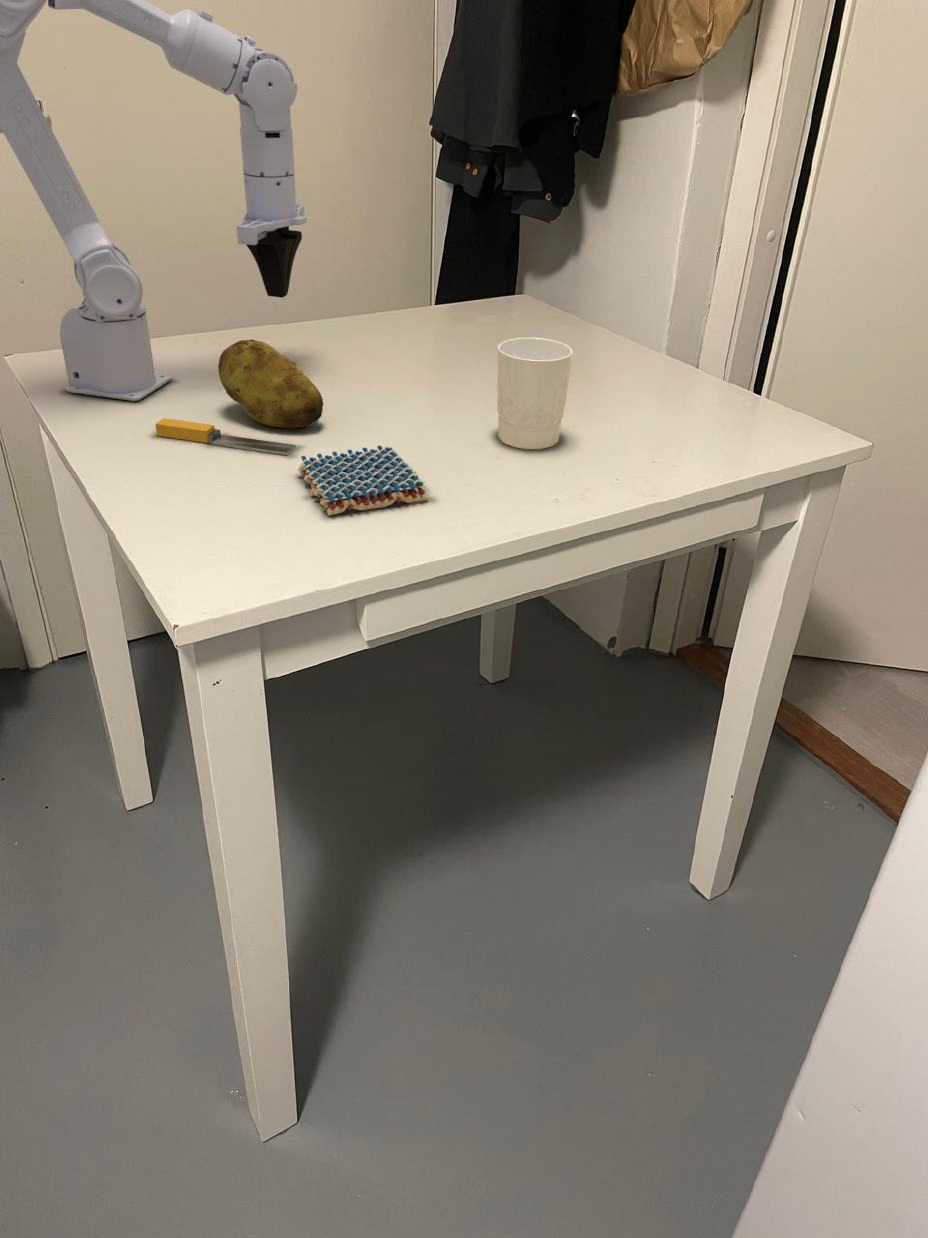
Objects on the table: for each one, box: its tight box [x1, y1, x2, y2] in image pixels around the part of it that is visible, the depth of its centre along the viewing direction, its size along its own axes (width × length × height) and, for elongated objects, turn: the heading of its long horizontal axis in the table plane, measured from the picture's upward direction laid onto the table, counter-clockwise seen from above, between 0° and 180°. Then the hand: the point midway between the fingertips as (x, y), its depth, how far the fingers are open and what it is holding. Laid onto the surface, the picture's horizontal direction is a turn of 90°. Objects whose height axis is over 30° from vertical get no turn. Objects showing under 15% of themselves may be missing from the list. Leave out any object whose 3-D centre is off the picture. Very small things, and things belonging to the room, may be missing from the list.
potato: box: [217, 338, 324, 429], centre depth 106 cm, size 8×13×8 cm, turn 37°
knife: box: [155, 417, 296, 456], centre depth 102 cm, size 15×2×1 cm, turn 75°
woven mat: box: [297, 445, 430, 516], centre depth 93 cm, size 10×11×2 cm
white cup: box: [496, 337, 574, 450], centre depth 103 cm, size 8×8×10 cm
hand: (277, 295), depth 117 cm, fingers closed
